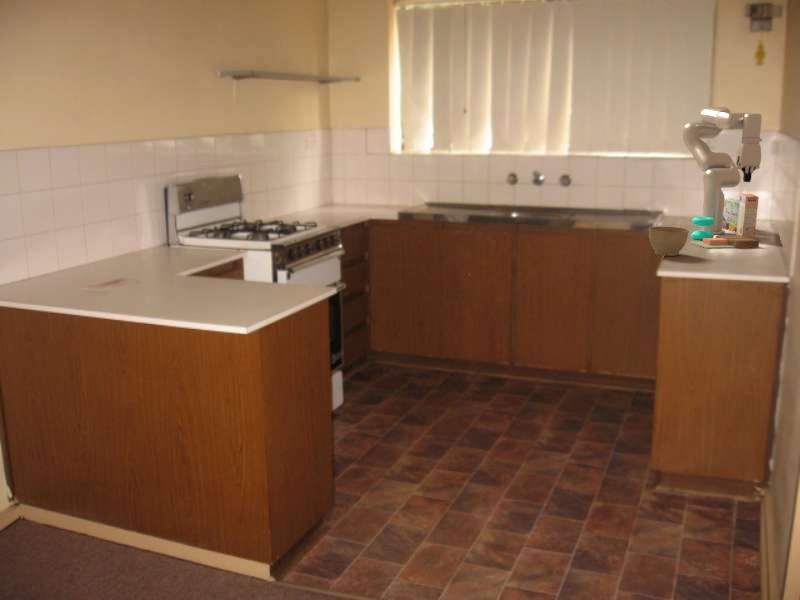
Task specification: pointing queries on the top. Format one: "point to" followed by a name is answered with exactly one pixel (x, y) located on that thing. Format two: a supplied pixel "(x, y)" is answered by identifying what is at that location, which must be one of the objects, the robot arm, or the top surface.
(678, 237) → the planter bowl
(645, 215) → the top surface
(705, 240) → the coral block
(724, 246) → the sage mat
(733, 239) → the board
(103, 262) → the top surface
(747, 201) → the cracker box
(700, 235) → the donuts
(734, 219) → the snack box
